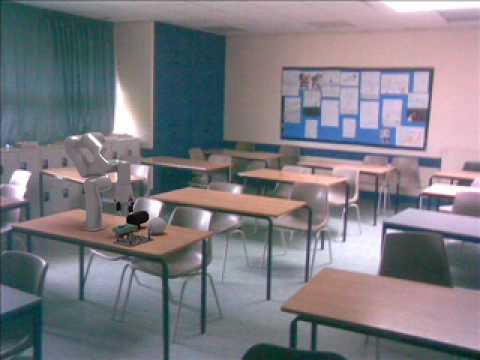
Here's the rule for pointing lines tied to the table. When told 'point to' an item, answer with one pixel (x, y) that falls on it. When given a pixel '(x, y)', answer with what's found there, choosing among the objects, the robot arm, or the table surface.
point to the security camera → (137, 218)
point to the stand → (124, 234)
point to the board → (124, 228)
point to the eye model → (157, 225)
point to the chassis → (133, 239)
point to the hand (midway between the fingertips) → (124, 211)
